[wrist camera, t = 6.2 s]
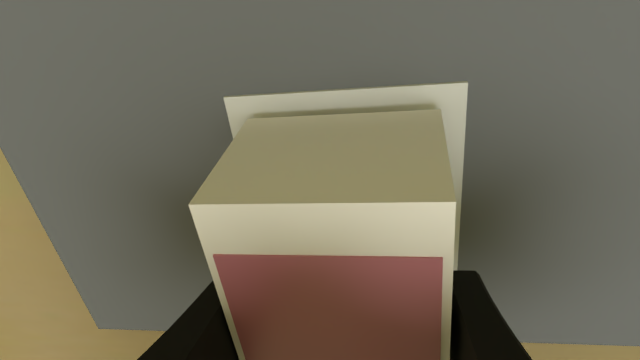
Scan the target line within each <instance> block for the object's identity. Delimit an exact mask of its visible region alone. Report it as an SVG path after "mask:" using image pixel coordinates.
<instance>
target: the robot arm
mask: <svg viewBox="0 0 640 360" xmlns="http://www.w3.org/2000/svg"><path fill="white" fill-rule="evenodd" d="M137 360H239V358H238V354H237V351H236V348H235V345H234V342H233V339H232V336H231V333H230V330H229V327H228V324H227V321H226V318H225V315H224V312H223V309H222V306H221V303H220V300H219V297H218V294H217V291H216V288H215V284H214V281H212V282H211V283H210V284H209V285H208V286H207V287H206V288H205V290H204V291H203V292H202V293H201V294H200V295H199V296H198V297H197V298H196V300H195V301H194V302H193V303H192V304H191V305H190V306H189V307H188V308H187V309H186V311H185V312H184V313H183V314H182V315H181V316H180V317H179V318H178V319H177V320H176V321H175V322H174V323H173V324H172V325H171V327H170V328H169V329H168V330H167V331H166V332H165V333H164V334H163V335H162V336H161V337H160V338H159V339H158V340H157V341H156V342H155V343H154V344H153V345H152V346H151V347H150V348H149V349H148V350H147V351H146V352H145V353H143V354H142V355H141V356H140V357H139V358H138V359H137ZM450 360H532V359H531V357H530V356H529V355H528V353H527V352H526V351H525V349H524V348H523V346H522V345H521V343H520V342H519V340H518V339H517V337H516V336H515V334H514V333H513V332H512V330H511V329H510V327H509V326H508V324H507V322H506V321H505V319H504V318H503V316H502V315H501V313H500V311H499V310H498V308H497V306H496V305H495V303H494V301H493V300H492V298H491V296H490V294H489V292H488V291H487V289H486V287H485V285H484V283H483V281H482V279H481V277H480V275H479V274H478V273H477V272H476V271H472V270H453V289H452V313H451V337H450Z"/></svg>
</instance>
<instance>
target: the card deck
mask: <svg viewBox="0 0 640 360" xmlns="http://www.w3.org/2000/svg"><path fill="white" fill-rule="evenodd" d="M188 205H189V208H190V211H191V214H192V217H193V221H194V224H195V227H196V230H197V233H198V236H199V239H200V242H201V245H202V248H203V251H204V254H205V257H206V260H207V263H208V266H209V269H210V272H211V275H212V278H213V281H214V284H215V288H216V291H217V294H218V297H219V300H220V303H221V306H222V309H223V312H224V315H225V318H226V321H227V324H228V327H229V330H230V333H231V336H232V339H233V342H234V345H235V348H236V351H237V354H238V358H239V360H450V337H451V313H452V289H453V264H454V240H455V216H456V198H455V192H454V186H453V180H452V174H451V168H450V162H449V156H448V150H447V144H446V138H445V131H444V125H443V119H442V113H441V109H435V110H415V111H394V112H374V113H353V114H333V115H312V116H292V117H271V118H251V119H247V120H246V122H245V123H244V125H243V126H242V128H241V129H240V130H239V132H238V133H237V135H236V136H235V138H234V139H233V141H232V142H231V144H230V145H229V146H228V148H227V149H226V151H225V152H224V154H223V155H222V157H221V158H220V159H219V161H218V162H217V164H216V165H215V167H214V168H213V170H212V171H211V172H210V174H209V175H208V177H207V178H206V180H205V181H204V183H203V184H202V186H201V187H200V188H199V190H198V191H197V193H196V194H195V196H194V197H193V199H192V200H191V201H190V203H189V204H188Z"/></svg>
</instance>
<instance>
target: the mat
mask: <svg viewBox="0 0 640 360" xmlns="http://www.w3.org/2000/svg"><path fill="white" fill-rule="evenodd" d="M435 109H441V113H442V119H443V125H444V131H445V138H446V144H447V150H448V156H449V162H450V168H451V174H452V180H453V186H454V192H455V198H456V216H455V240H454V264H453V270H472V271H476V272H477V273H478V274H479V275H480V277H481V279H482V281H483V283H484V285H485V287H486V289H487V291H488V292H489V294H490V296H491V298H492V300H493V301H494V303H495V305H496V306H497V308H498V310H499V311H500V313H501V315H502V316H503V318H504V319H505V321H506V322H507V324H508V326H509V327H510V329H511V330H512V332H513V333H514V334H515V336H516V337H517V339H518V340H519V342H526V343H557V344H588V345H619V346H640V0H0V148H1V150H2V152H3V154H4V155H5V157H6V159H7V161H8V163H9V165H10V167H11V168H12V170H13V172H14V174H15V176H16V178H17V179H18V181H19V183H20V185H21V187H22V189H23V190H24V192H25V194H26V196H27V198H28V200H29V202H30V203H31V205H32V207H33V209H34V211H35V213H36V214H37V216H38V218H39V220H40V222H41V224H42V226H43V227H44V229H45V231H46V233H47V235H48V237H49V238H50V240H51V242H52V244H53V246H54V248H55V249H56V251H57V253H58V255H59V257H60V259H61V261H62V262H63V264H64V266H65V268H66V270H67V272H68V273H69V275H70V277H71V279H72V281H73V283H74V284H75V286H76V288H77V290H78V292H79V294H80V296H81V297H82V299H83V301H84V303H85V305H86V307H87V308H88V310H89V312H90V314H91V316H92V318H93V320H94V321H95V323H96V325H97V327H98V329H124V330H155V331H167V330H168V329H169V328H170V327H171V325H172V324H173V323H174V322H175V321H176V320H177V319H178V318H179V317H180V316H181V315H182V314H183V313H184V312H185V311H186V309H187V308H188V307H189V306H190V305H191V304H192V303H193V302H194V301H195V300H196V298H197V297H198V296H199V295H200V294H201V293H202V292H203V291H204V290H205V288H206V287H207V286H208V285H209V284H210V283H211V282H212V281H213V278H212V275H211V272H210V269H209V266H208V263H207V260H206V257H205V254H204V251H203V248H202V245H201V242H200V239H199V236H198V233H197V230H196V227H195V224H194V221H193V217H192V214H191V211H190V208H189V205H188V204H189V203H190V201H191V200H192V199H193V197H194V196H195V194H196V193H197V191H198V190H199V188H200V187H201V186H202V184H203V183H204V181H205V180H206V178H207V177H208V175H209V174H210V172H211V171H212V170H213V168H214V167H215V165H216V164H217V162H218V161H219V159H220V158H221V157H222V155H223V154H224V152H225V151H226V149H227V148H228V146H229V145H230V144H231V142H232V141H233V139H234V138H235V136H236V135H237V133H238V132H239V130H240V129H241V128H242V126H243V125H244V123H245V122H246V120H247V119H251V118H271V117H292V116H312V115H333V114H353V113H374V112H394V111H415V110H435Z"/></svg>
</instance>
